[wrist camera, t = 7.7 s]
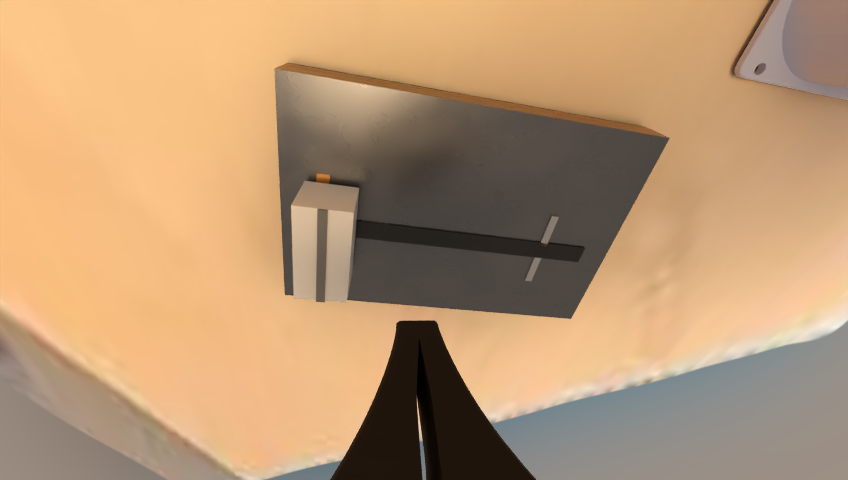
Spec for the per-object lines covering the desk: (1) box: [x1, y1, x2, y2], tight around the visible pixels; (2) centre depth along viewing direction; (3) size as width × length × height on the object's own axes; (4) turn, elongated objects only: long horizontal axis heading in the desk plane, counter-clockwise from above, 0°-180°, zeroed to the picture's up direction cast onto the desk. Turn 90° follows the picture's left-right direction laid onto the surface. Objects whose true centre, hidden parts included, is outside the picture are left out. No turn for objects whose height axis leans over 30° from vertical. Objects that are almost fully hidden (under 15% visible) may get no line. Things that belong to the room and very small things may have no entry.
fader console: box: [275, 63, 669, 319], centre depth 19 cm, size 18×12×2 cm, turn 80°
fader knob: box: [291, 181, 359, 303], centre depth 17 cm, size 2×5×3 cm, turn 170°
